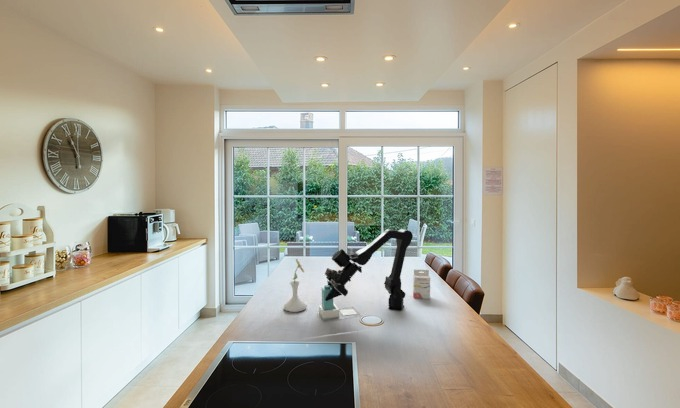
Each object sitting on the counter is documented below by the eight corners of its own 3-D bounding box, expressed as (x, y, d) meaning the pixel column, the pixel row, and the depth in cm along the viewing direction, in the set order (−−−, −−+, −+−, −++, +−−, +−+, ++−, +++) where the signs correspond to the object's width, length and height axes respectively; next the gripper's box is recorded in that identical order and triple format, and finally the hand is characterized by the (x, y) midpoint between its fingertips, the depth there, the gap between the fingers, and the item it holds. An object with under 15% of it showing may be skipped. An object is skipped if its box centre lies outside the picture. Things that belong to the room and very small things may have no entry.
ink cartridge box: (414, 298, 184) (414, 271, 183) (413, 295, 188) (413, 269, 188) (430, 298, 183) (430, 271, 182) (428, 295, 188) (429, 269, 187)
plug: (331, 311, 163) (330, 284, 162) (333, 314, 159) (333, 287, 158) (322, 312, 162) (321, 285, 161) (324, 315, 158) (323, 287, 157)
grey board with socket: (352, 307, 171) (352, 300, 170) (361, 317, 158) (361, 309, 158) (315, 312, 165) (315, 304, 165) (321, 322, 153) (321, 313, 153)
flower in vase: (302, 315, 162) (301, 263, 161) (280, 313, 164) (279, 262, 163) (310, 305, 175) (309, 257, 173) (289, 304, 177) (288, 256, 176)
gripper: (330, 258, 169) (308, 282, 166) (340, 267, 151) (316, 294, 149) (345, 272, 172) (324, 296, 169) (357, 282, 154) (334, 309, 151)
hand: (324, 298), depth 159 cm, fingers closed on plug, 4 cm apart
